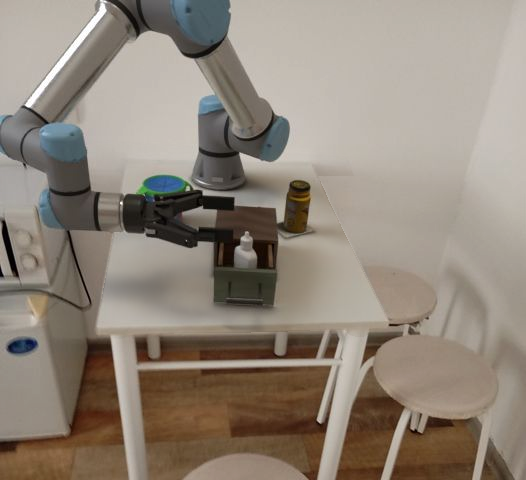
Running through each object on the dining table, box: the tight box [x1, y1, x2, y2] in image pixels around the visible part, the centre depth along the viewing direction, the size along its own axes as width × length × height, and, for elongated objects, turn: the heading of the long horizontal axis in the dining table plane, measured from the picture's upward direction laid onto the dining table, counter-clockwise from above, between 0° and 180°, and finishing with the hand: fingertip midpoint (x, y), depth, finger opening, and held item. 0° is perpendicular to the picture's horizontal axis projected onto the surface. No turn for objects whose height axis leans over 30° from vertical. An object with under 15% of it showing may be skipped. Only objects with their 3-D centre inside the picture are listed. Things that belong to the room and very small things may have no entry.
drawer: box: [212, 241, 278, 307], centre depth 114 cm, size 21×12×8 cm, turn 1°
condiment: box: [277, 179, 314, 239], centre depth 139 cm, size 7×8×12 cm
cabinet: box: [213, 205, 279, 277], centre depth 126 cm, size 16×14×10 cm
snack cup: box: [135, 174, 195, 222], centre depth 137 cm, size 16×10×10 cm
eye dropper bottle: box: [234, 232, 257, 269], centre depth 114 cm, size 4×6×12 cm
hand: (234, 219), depth 109 cm, fingers open, 13 cm apart
